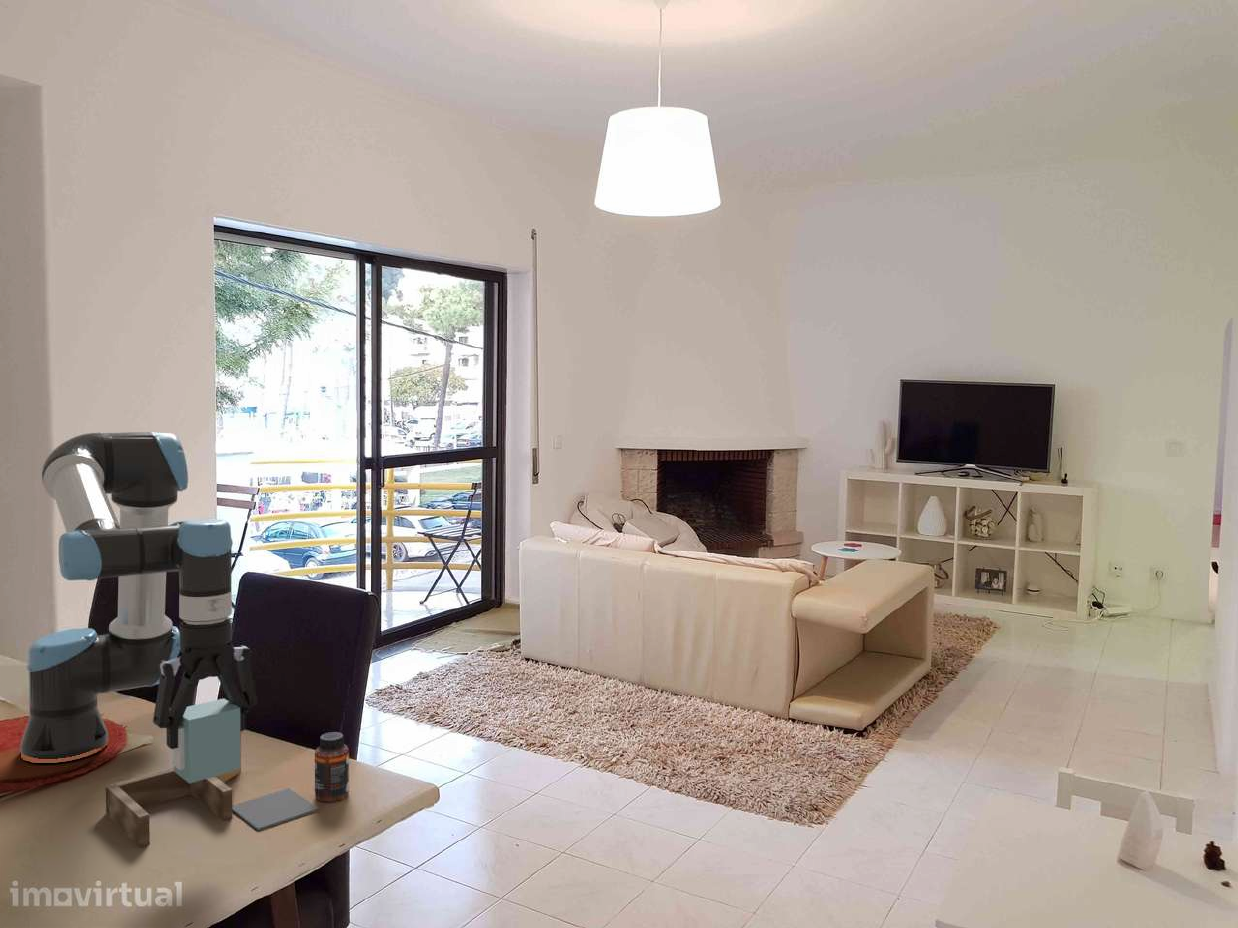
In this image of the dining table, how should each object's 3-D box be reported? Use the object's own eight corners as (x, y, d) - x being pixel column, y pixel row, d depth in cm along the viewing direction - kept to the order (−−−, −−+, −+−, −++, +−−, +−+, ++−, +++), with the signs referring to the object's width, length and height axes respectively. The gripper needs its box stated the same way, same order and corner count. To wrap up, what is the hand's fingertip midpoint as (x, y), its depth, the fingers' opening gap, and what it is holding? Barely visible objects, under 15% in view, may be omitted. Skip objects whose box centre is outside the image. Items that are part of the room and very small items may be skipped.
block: (173, 771, 147) (173, 709, 147) (224, 757, 153) (223, 698, 152) (189, 783, 143) (188, 720, 142) (240, 768, 149) (240, 708, 148)
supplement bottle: (356, 793, 171) (356, 733, 170) (333, 806, 166) (333, 744, 165) (330, 786, 174) (330, 727, 172) (307, 798, 168) (307, 738, 167)
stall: (106, 813, 160) (105, 785, 160) (195, 788, 171) (194, 761, 171) (139, 846, 150) (139, 816, 149) (232, 817, 160) (232, 789, 160)
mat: (229, 808, 163) (229, 806, 163) (288, 789, 171) (288, 787, 171) (258, 830, 156) (258, 828, 156) (318, 810, 164) (318, 807, 164)
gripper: (144, 635, 136) (146, 785, 138) (280, 612, 151) (280, 748, 153) (125, 624, 141) (128, 770, 143) (259, 603, 156) (259, 735, 158)
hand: (207, 758), depth 148 cm, fingers closed on block, 8 cm apart
